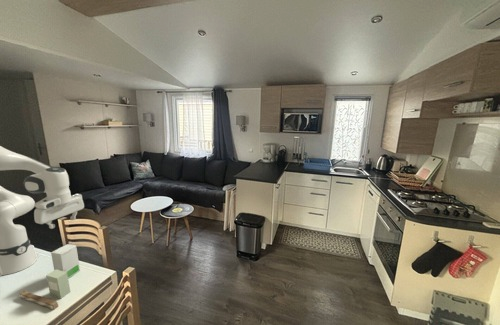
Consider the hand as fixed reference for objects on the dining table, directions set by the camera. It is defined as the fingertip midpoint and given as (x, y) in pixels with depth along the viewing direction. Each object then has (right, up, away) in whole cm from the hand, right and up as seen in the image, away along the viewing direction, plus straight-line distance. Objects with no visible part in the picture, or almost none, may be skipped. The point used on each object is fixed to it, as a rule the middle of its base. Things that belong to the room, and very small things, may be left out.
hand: (63, 223), depth 106 cm
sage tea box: (+7, -31, -9) cm, 33 cm away
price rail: (+1, -32, -13) cm, 35 cm away
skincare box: (0, -29, +3) cm, 29 cm away
